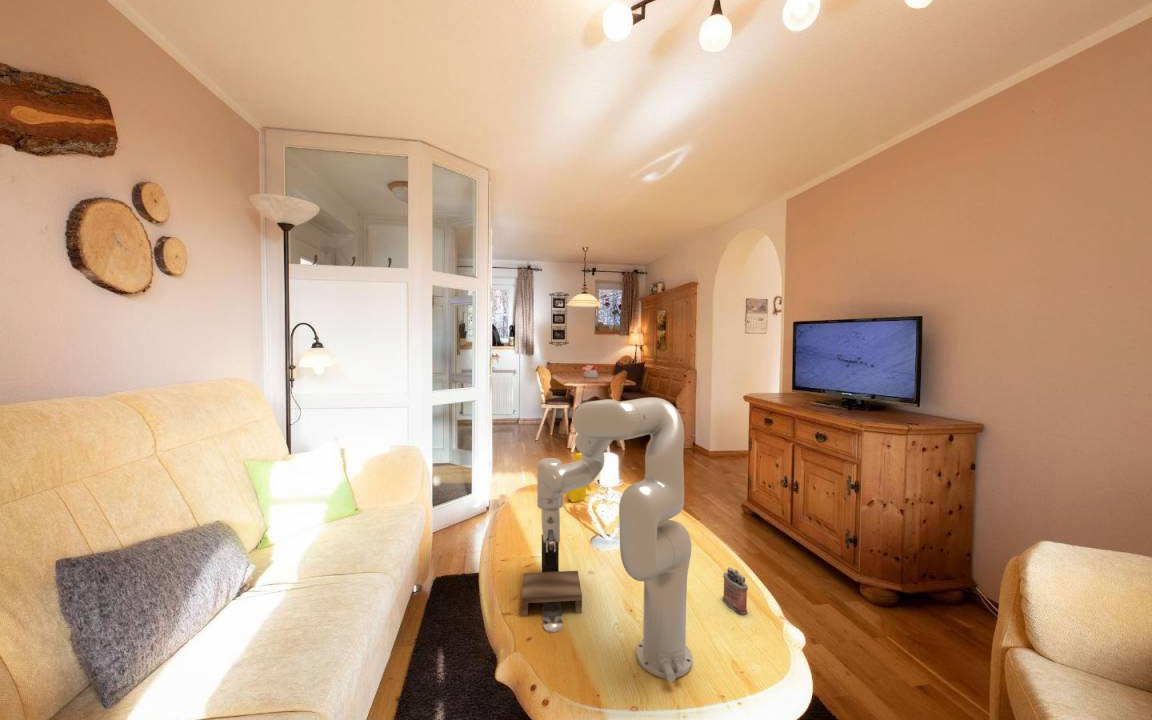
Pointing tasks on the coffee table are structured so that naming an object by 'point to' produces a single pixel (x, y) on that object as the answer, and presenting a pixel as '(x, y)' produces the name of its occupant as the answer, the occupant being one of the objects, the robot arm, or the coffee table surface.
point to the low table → (551, 588)
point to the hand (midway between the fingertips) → (550, 556)
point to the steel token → (552, 624)
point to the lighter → (735, 591)
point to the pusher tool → (551, 607)
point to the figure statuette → (580, 492)
